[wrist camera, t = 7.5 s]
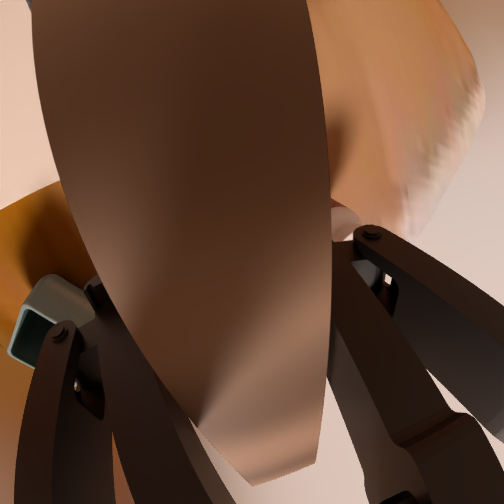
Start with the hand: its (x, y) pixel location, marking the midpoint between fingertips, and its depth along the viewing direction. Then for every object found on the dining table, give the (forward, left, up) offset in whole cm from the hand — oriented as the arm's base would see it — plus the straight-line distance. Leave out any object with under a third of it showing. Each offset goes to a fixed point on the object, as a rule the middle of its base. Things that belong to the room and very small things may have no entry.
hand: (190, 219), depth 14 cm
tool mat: (-16, -15, -14) cm, 26 cm away
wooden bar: (0, 0, -2) cm, 2 cm away
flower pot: (+10, -17, -14) cm, 25 cm away
